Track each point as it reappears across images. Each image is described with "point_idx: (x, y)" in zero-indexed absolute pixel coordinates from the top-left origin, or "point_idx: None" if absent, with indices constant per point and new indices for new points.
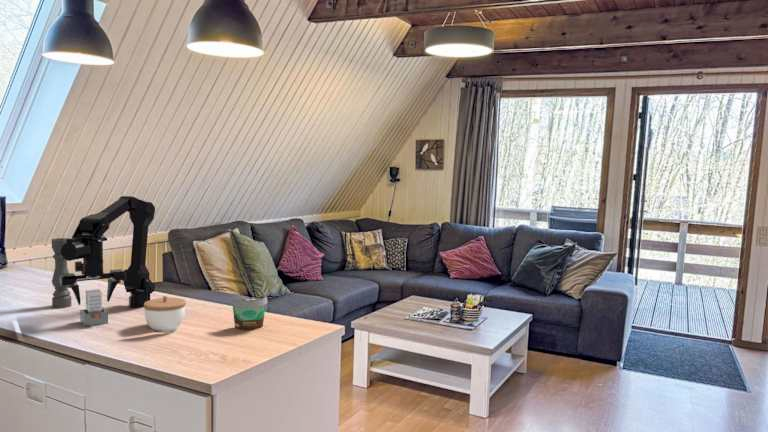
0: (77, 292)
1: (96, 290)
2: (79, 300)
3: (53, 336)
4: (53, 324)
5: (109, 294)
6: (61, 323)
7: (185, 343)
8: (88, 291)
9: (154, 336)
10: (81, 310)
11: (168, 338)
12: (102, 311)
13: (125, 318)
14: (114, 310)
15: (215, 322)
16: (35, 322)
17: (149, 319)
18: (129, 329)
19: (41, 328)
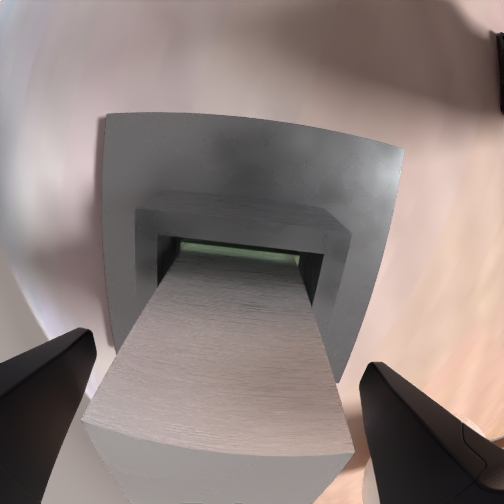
0: (30, 480)
1: (266, 492)
2: (72, 399)
3: (56, 316)
4: (65, 93)
5: (377, 466)
6: (98, 90)
7: (355, 497)
8: (134, 479)
9: (347, 466)
10: (142, 236)
11: (357, 479)
12: (309, 290)
13: (435, 214)
14: (438, 8)
15: (501, 408)
16: (32, 27)
17: (362, 492)
18: (343, 400)
19: (19, 150)
